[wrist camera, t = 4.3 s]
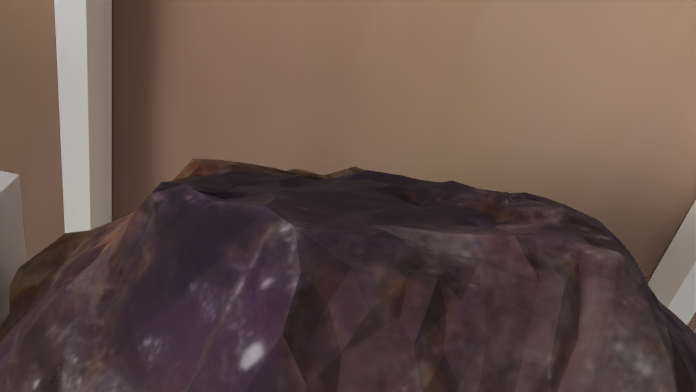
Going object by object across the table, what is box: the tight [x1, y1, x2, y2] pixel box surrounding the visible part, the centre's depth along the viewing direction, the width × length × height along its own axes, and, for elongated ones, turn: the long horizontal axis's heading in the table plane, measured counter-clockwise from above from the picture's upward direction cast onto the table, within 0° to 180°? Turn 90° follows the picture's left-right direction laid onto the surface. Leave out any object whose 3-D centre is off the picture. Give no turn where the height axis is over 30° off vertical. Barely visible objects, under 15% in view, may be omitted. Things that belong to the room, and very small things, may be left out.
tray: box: [54, 0, 696, 325], centre depth 18 cm, size 19×17×2 cm
